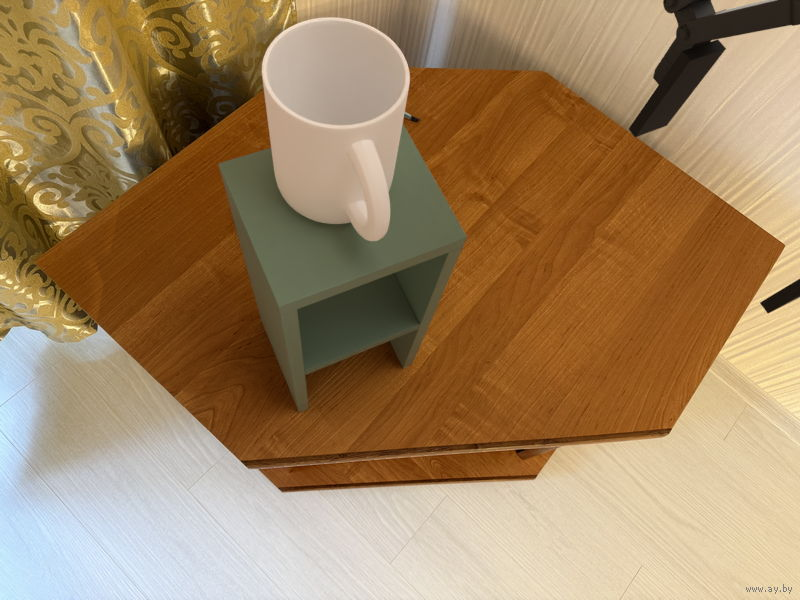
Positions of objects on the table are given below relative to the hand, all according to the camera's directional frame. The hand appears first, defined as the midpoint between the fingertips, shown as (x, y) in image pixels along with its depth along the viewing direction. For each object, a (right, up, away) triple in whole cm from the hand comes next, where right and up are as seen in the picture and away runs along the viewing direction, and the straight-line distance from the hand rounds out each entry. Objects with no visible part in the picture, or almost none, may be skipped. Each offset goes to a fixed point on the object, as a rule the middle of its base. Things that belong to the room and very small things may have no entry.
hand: (709, 208), depth 37 cm
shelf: (-27, -11, +32) cm, 43 cm away
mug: (-23, +1, +5) cm, 24 cm away
